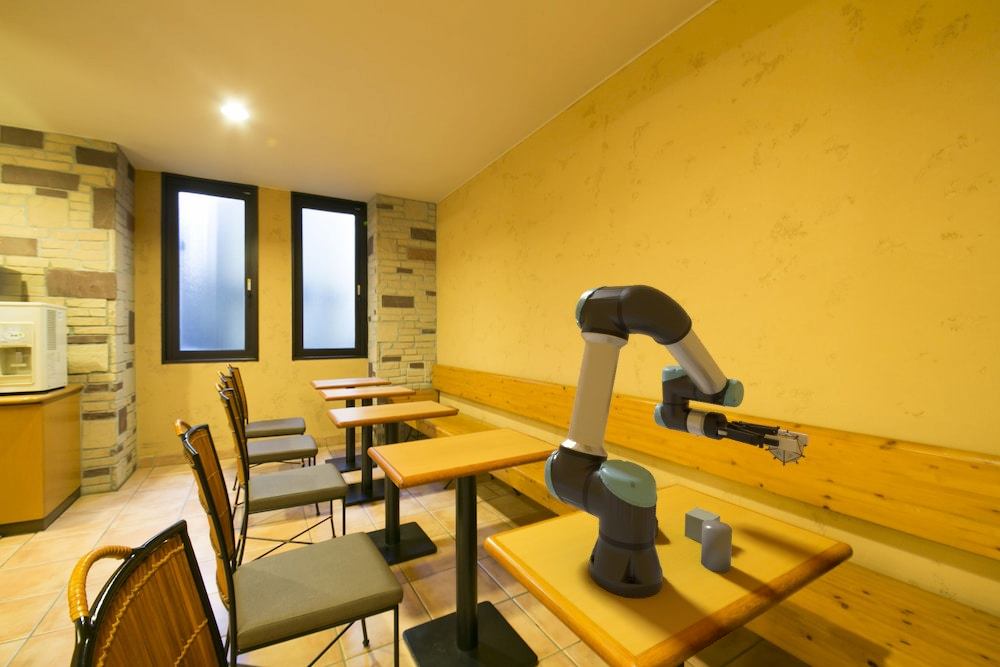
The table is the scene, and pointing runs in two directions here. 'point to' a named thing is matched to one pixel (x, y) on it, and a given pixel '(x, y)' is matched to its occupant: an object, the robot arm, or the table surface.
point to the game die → (784, 454)
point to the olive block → (697, 522)
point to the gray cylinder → (716, 546)
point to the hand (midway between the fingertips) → (802, 443)
